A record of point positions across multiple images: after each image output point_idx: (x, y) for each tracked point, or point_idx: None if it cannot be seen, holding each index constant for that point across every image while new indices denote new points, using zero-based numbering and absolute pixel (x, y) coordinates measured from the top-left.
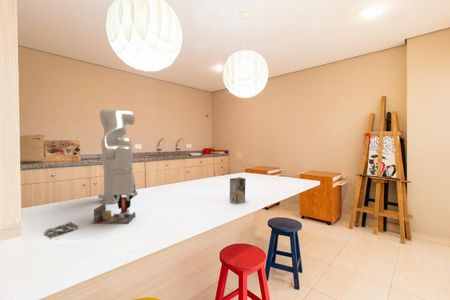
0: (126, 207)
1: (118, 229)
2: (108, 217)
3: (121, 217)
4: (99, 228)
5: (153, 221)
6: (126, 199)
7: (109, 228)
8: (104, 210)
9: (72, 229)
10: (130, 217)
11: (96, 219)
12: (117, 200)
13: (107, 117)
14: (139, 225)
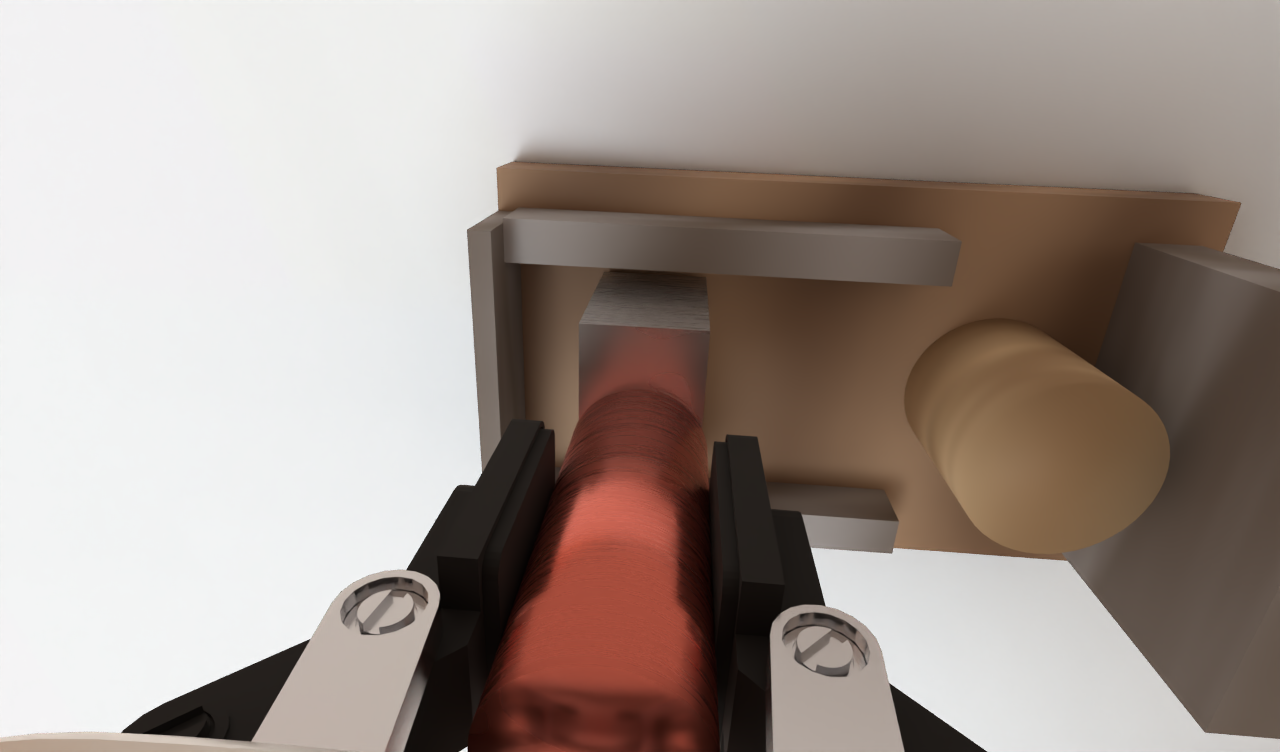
0: (522, 435)
1: (643, 52)
2: (958, 363)
3: (658, 296)
4: (1023, 112)
5: (197, 379)
6: (492, 665)
7: (830, 106)
8: (1135, 581)
9: None
10: (479, 310)
11: (1197, 260)
12: (835, 620)
13: None
14: (345, 225)
